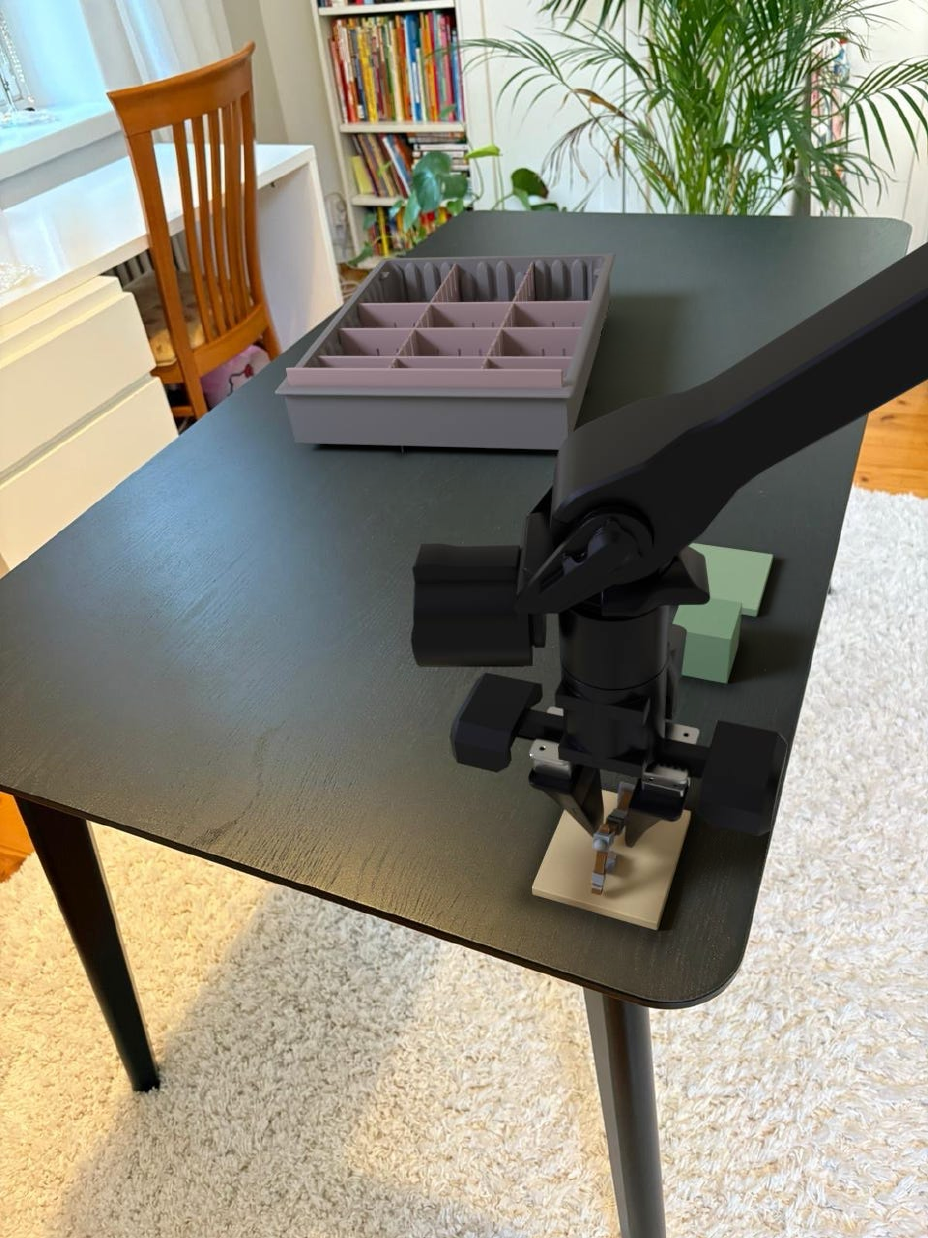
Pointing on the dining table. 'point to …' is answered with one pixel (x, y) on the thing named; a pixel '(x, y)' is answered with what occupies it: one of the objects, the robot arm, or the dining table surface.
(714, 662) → the sage block
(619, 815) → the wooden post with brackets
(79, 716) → the dining table surface
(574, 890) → the birch pad
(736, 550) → the sage pad
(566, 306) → the organizer tray
